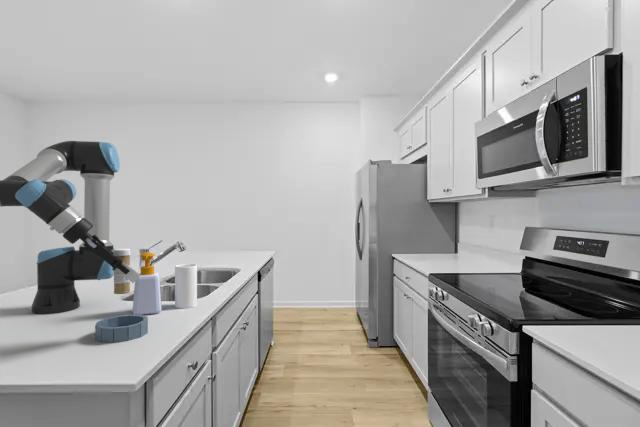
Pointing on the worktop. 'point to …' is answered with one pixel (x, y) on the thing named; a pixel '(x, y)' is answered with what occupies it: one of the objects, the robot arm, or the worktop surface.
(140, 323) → the bowl
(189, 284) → the cup
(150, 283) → the soap bottle
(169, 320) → the worktop surface
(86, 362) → the worktop surface
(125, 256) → the sprinkles bottle
